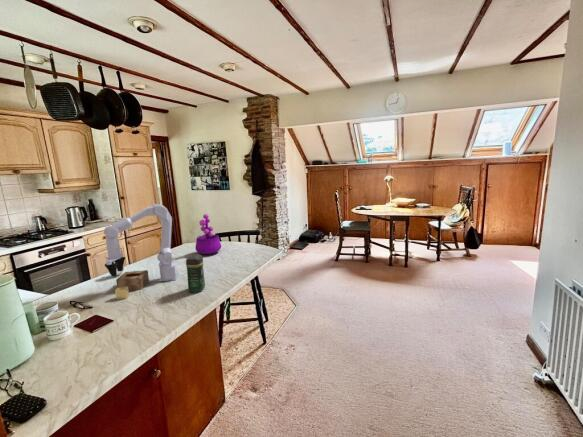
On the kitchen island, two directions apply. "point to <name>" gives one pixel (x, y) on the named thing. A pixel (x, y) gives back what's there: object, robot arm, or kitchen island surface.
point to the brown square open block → (133, 280)
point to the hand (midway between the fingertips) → (117, 273)
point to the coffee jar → (195, 273)
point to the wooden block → (122, 293)
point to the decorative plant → (207, 238)
